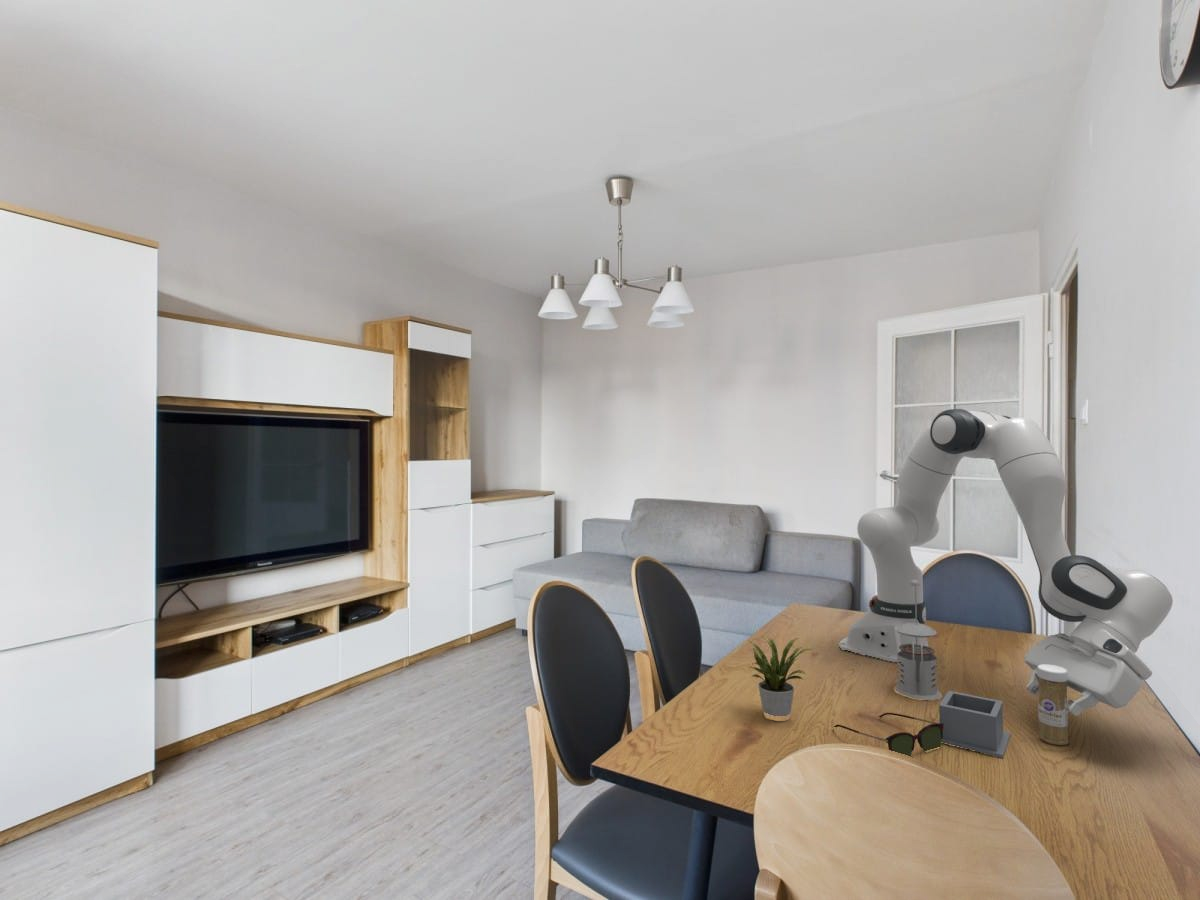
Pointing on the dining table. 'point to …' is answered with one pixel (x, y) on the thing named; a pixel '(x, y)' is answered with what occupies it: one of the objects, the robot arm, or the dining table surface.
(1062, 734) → the sprinkles bottle
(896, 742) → the sunglasses
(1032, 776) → the dining table surface
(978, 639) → the dining table surface
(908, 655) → the french press
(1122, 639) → the robot arm
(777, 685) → the house plant
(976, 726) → the square holder
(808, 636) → the dining table surface
